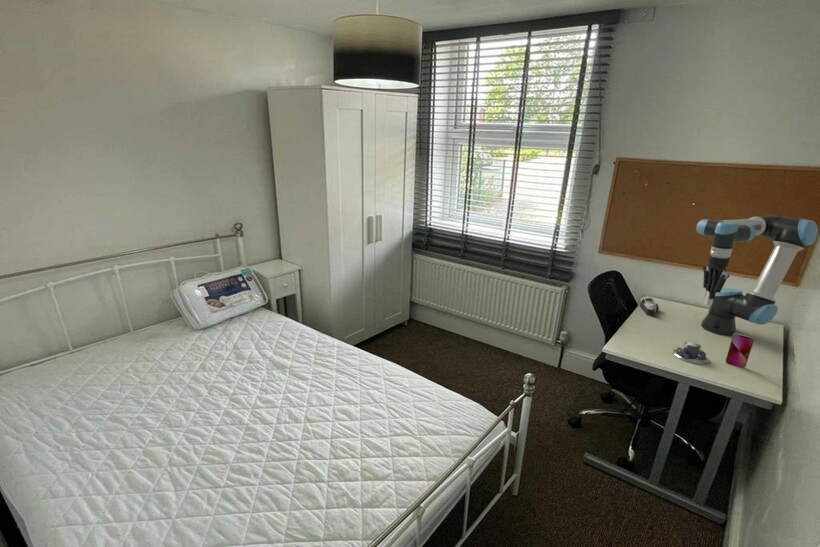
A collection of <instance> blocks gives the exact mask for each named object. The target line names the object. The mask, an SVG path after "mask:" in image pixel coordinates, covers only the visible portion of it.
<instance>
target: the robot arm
mask: <svg viewBox="0 0 820 547" xmlns="http://www.w3.org/2000/svg"><path fill="white" fill-rule="evenodd" d="M695 230H696V232H697V234H699V235H703V236H708V237H712V238H713V240H712V244H711V247H710V248H711V249H710V252H709V254H710V255H709V256H708V258H707V259H708V261H707V264H708V265H707V266H703V268H702V269H703V270H702V271H703V282H702V283H703V285H702V286H703V288H704V289H705V296H704V297H705V298H704V302H703V304H704V306H705V305H706V306H709V310H708V313H707V314H706V316H705V317H704V318H703V319H702V321H701V324H700V327H702V328H703V329H704V330H707V331H708V332H712V333H715V334H719V335H726V336H730V335H731V336H733V334H735V333H737V332H736V331H737V327H736V317H737V318H740V319H741V320H744V321H747V322H750V323H752V324H755V325H760V326H762V325H766V324H768V323H769V322H771V321H772V320H773V319H774V318H775V316H776V315H777V314H778V306H777V305H776V303H777V301H776V299H775V296H776V293H777V291H778V289H779V288H780V286H781V283H783V280H784V278H785V276H786V274H787V273H788V271H789V269H790V267H791V265H792V263H793V261H794V259H795V257H796V255H797V253H798V252H801V251H802V250H805V247H806V246H812V245H813V243H815V241H816V240H817V238H818V232H819V227H818V225H817V223H816V222H815V221H814V220H810V219H805V218H800V217H799V218H798V217H790V216H782V215H763V216H761V215H759V216H751V217H749V218H741V219H740V218H739V219H720V220H718V219H717V220H715V219H714V220H713V219H705V218H703V219H700V221H699V222H698V223H697V225H696V229H695ZM756 236H759V237H761V238H762V237H763V238H768V239H772V240H773V241H772V243H773V245H774V248H773V249H772V251H771V254H770V255H769V258H768V259H767V260H766V263H765V265H764V267H763V268H762V271H761V272H760V275H759V277H758V279H757V280H756V282H755V285H754V286H753V288H752V290H750V291H747V292H746V294H745V295H744V293H743V290H741V289H737V288H730V287H724V285H725V283H726V281H727V279H728V278H730V274H727V273H726V272H727V270H726V267H728V266H729V264H730V257H731V256H732V252H733V247H734V244H735V243H742V242H743V243H745V242H748V241H751V240H753V239H754V238H755V237H756Z"/></svg>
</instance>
